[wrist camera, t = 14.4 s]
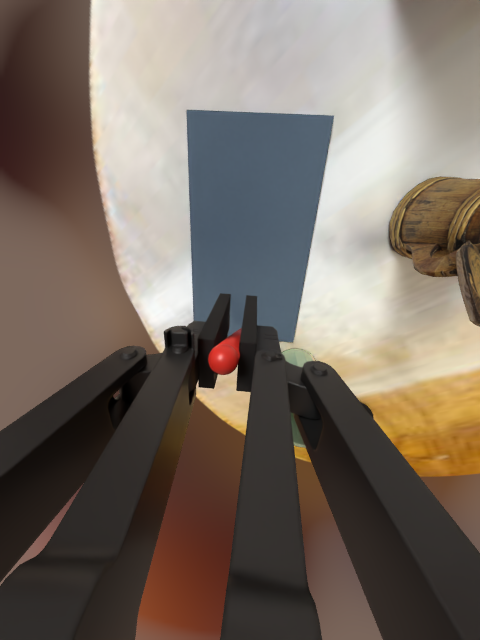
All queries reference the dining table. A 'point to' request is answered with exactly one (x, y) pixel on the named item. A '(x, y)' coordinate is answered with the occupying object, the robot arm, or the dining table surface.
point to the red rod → (225, 355)
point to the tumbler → (299, 359)
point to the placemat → (254, 210)
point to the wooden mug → (443, 233)
